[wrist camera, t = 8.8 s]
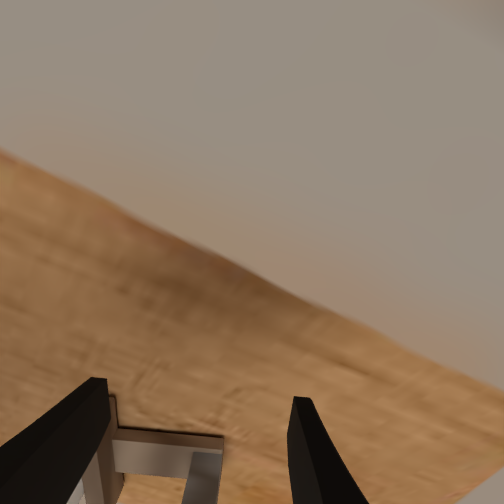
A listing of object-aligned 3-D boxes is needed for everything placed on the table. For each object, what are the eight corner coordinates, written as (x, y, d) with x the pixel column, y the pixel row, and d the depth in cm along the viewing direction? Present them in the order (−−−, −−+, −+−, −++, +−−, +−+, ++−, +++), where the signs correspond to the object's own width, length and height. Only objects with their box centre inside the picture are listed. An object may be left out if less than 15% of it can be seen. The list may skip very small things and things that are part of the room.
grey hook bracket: (108, 483, 27) (75, 554, 22) (96, 395, 23) (53, 458, 18) (219, 494, 27) (210, 567, 22) (226, 408, 23) (216, 474, 18)
